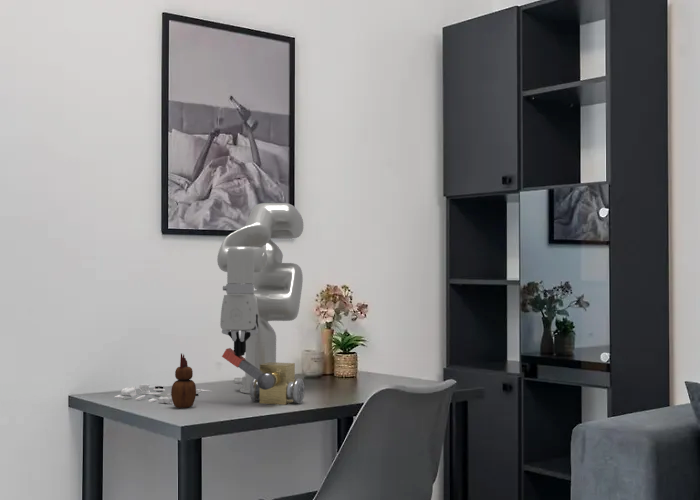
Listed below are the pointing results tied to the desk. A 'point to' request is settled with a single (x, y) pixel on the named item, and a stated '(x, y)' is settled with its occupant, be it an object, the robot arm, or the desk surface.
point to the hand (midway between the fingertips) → (239, 355)
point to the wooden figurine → (183, 386)
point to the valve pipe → (279, 385)
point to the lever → (250, 370)
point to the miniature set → (145, 389)
